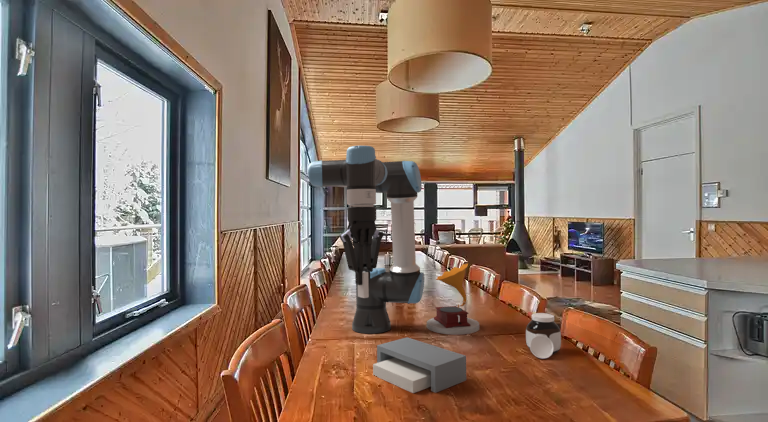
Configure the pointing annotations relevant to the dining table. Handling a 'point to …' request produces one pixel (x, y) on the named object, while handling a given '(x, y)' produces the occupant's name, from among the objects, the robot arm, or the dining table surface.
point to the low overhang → (427, 360)
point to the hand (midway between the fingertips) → (363, 296)
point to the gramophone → (453, 308)
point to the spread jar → (543, 335)
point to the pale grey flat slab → (403, 374)
